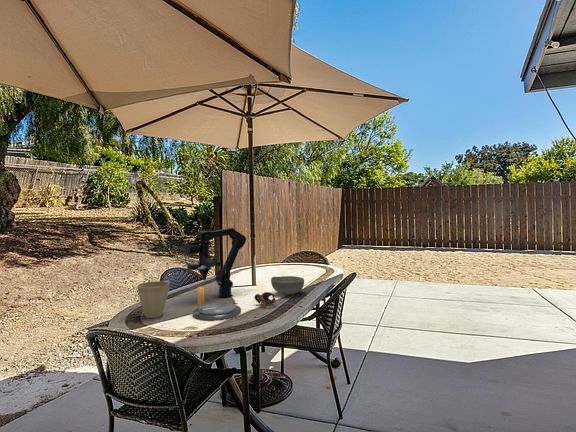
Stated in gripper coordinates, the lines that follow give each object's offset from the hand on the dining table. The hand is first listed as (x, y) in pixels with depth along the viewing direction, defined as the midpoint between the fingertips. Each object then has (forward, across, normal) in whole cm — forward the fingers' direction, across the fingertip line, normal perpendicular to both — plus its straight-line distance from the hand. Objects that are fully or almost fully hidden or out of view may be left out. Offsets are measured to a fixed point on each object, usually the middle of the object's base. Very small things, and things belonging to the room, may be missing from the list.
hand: (204, 280), depth 201 cm
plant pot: (+12, -32, -6) cm, 35 cm away
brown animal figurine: (+12, +18, -32) cm, 39 cm away
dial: (+10, -8, -25) cm, 28 cm away
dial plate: (+12, -8, -25) cm, 29 cm away
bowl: (+12, +43, -24) cm, 51 cm away
